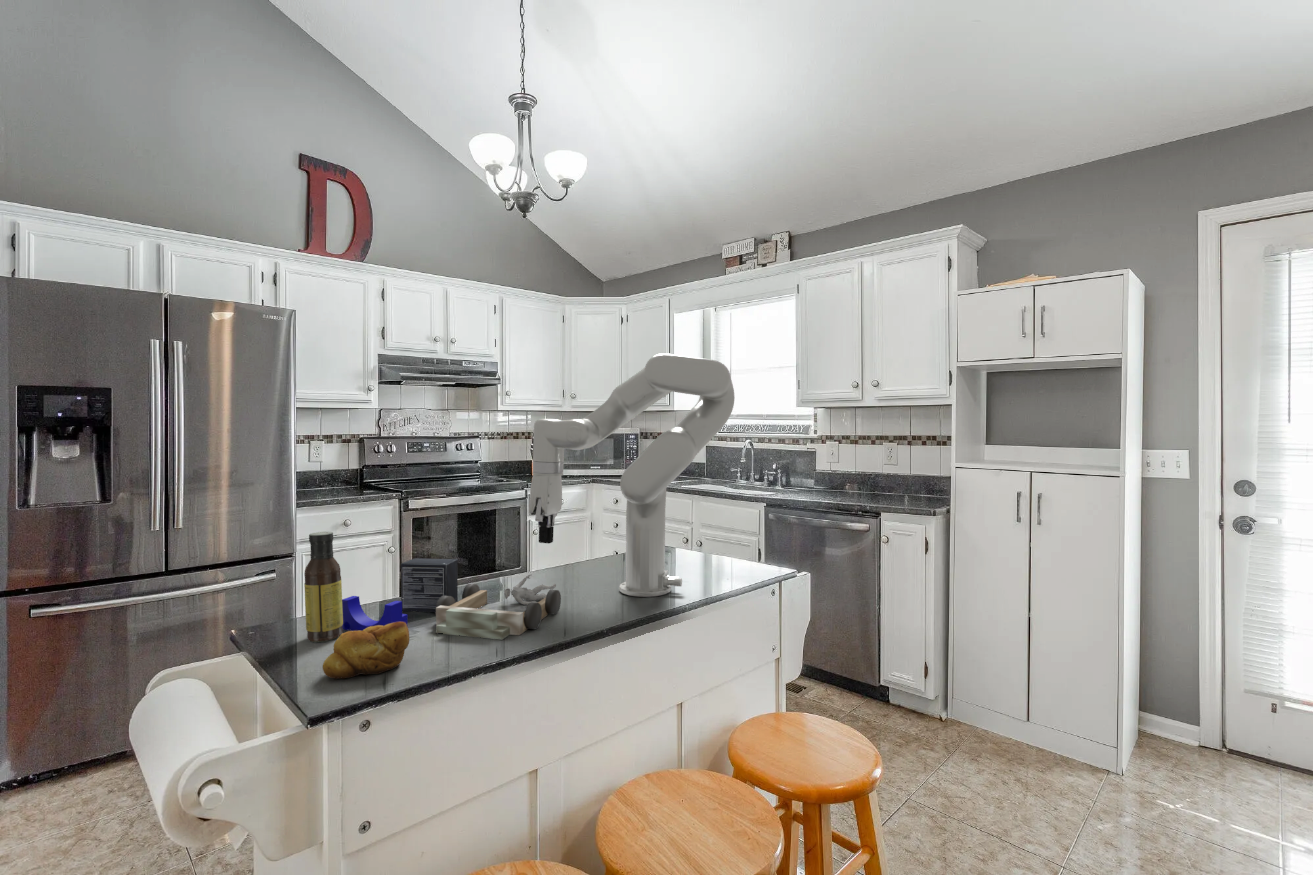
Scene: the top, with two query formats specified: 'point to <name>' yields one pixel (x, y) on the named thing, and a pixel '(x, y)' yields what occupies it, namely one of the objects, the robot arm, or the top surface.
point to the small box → (427, 583)
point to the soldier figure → (527, 592)
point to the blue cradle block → (360, 621)
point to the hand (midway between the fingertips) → (545, 542)
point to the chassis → (489, 615)
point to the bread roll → (367, 651)
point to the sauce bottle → (323, 590)
